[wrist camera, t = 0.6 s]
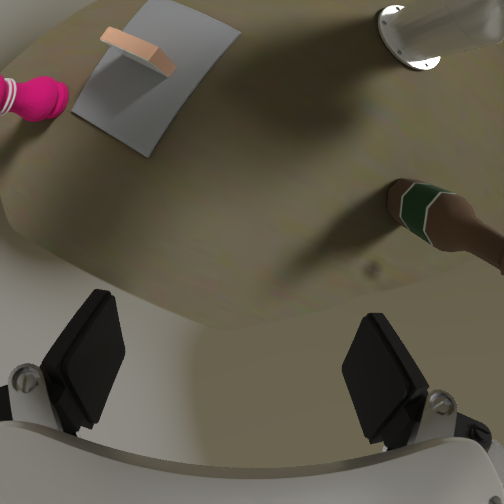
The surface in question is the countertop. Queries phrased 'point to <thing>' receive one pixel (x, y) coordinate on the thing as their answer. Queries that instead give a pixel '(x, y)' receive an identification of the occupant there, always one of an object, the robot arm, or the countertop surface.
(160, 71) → the tile
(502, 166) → the countertop surface
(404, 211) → the beer bottle
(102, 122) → the mat
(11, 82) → the pepper mill
